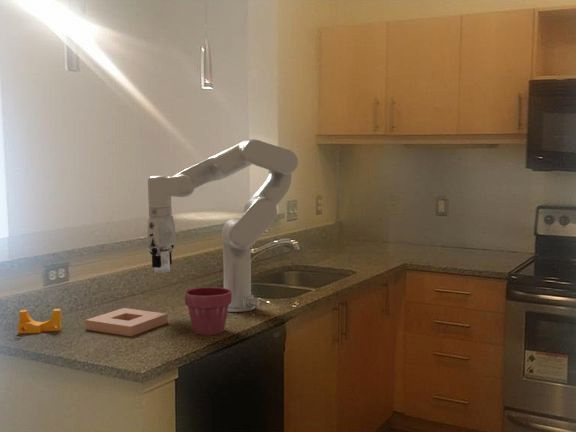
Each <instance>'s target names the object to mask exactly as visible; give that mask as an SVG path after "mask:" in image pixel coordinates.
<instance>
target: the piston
mask: <svg viewBox="0 0 576 432" xmlns="http://www.w3.org/2000/svg"><path fill="white" fill-rule="evenodd" d="M155 246H156V245H155ZM155 250H157V248H155ZM169 250H170V248H169V246H165V247H160V253H159V256H161V267H160V268H156V267H153V268H154V270H153V271H154V273H156V274H157V273H158V274H159V273H160V274H161V273H163V274H164V273H169V272H171V265H170V255H169Z"/></svg>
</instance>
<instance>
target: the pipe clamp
mask: <svg viewBox="0 0 576 432" xmlns="http://www.w3.org/2000/svg"><path fill="white" fill-rule="evenodd" d="M18 317H19V319H18V321H19V322H18V324H17V326H18V327H17V329H18V331H17V332H18V334H40V333H42V332H57V331H58V332H59V331H62V309H61V308H54V309H53V310H52V314H51V317H50V319H48V320H46V321H36V320H34V319H33V318H32V317H31V316H30V313H29V309H20V310H19V311H18Z"/></svg>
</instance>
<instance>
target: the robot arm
mask: <svg viewBox="0 0 576 432" xmlns="http://www.w3.org/2000/svg"><path fill="white" fill-rule="evenodd" d="M252 165H254V166H256V167H259V168H262V169H266V170H268V176H267V178H266V180H265V181H264V182H263V184H262V185H261V186H260V187H259V189H258V190H256V192H254V194H253V195H252V196H251V197H250V198H249V199H248V200H247V201H246V203H245V205H244V208H243V212H244V213H243V214H242V215H241V217H239V218H235V217H234V218H231V219H229V220H227V221H226V222H225V223H224V224H223V226H222V230H221V242H222V254H223V255H222V256H223V259H222V260H223V261H222V262H223V263H222V265H223V288H226V289H229V290H231V293H232V301H231V303H230V304H229V306H228V312H230V313H242V312H243V313H244V312H249V311H253V310H255V309H256V307H260V304H261V300H260V299H255V298H254V294H252V290H251V289H252V285H251V284H252V277H251V276H252V271H251V270H252V268H251V266H252V265H251V264H252V262H251V261H252V257H251V256H252V255H251V247H252V246H253V245H254V244H255V243H256V242H257V241H258V240H259V239H260V238H261V237H262V235H264V233H265V232H266V231H268V228H270V227H271V225H272V224H273V223H274V222H275V219H276V218H277V216H278V215H277V214H278V208H277V206H278V205H279V204H280V202H281V201H282V199H284V197H285V196H286V195H287V194H288V192H289V190H290V187H291V183H292V173H293V172H295V171H296V169H297V168H298V165H299V160H298V155H296V153H295V152H294V151H292V150H290V149H287V148H286V147H285V148H284V147H281V146H278V145H274V144H271V143H267V142H265V141H262V140H259V139H256V138H255V139H253V138H251V139H245V140H243V141H240V142H238V143H237V144H235V145H233V146H231V147H229V148H227V149H225V150H222V151H221V152H219V153H217V154H215V155H213V156H210V157H208V158H206V159H205V160H203V161H200V162H199V163H197V164H194V165H192V166H190V167H188V168H185V169H184V170H182V171H180V172H178V173H176V174H174V175H173V176H168V175H152V176H149V177H148V178H147V191H148V192H147V196H148V199H147V200H148V222H147V244H146V246H145V248H146V250H147V251H148V252H149V253H150V256H151V266H152V268H154V267H156V268H160V267H161V256H159V253H160V247H165V246H169V248H170V250H169V255H170V266H171V265H173V263H172V261H173V260H172V253H173V248H174V247H175V245H176V242H177V235H176V226H175V221H174V216H173V214H172V213H173V212H172V197H176V198H186V197H189V196H191V195H192V194H193V193H194V191H195V189H197V188H199V187H202V186H203V185H205V184H209V183H211V182H216V181H220V180H223V179H226V178H228V177H230V176H231V175H234V174H236V173H237V172H240V171H242V170H244V169H246V168H249V167H250V166H252ZM155 245H156V246H155ZM155 248H157V250H155ZM228 312H227V313H228Z"/></svg>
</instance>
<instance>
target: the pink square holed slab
mask: <svg viewBox="0 0 576 432" xmlns="http://www.w3.org/2000/svg"><path fill="white" fill-rule="evenodd" d="M84 323H85V330H88V331H95V332H101V333H107V334H114V335H119V336H127V337H134V336H136V335H140V334H141V333H144V332H146V331H149V330H152V329H155V328H157V327H160V326H164V325H166V324H167V323H168V313H164V312H156V311H149V310H148V311H147V310H143V309H142V310H141V309H134V308H128V307H127V308H126V307H123V308H120V309H119V308H118V309H116V310H114V311H110V312H107V313H103V314H100V315H96V316H94V317H90V318H86V319H85V322H84Z"/></svg>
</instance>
